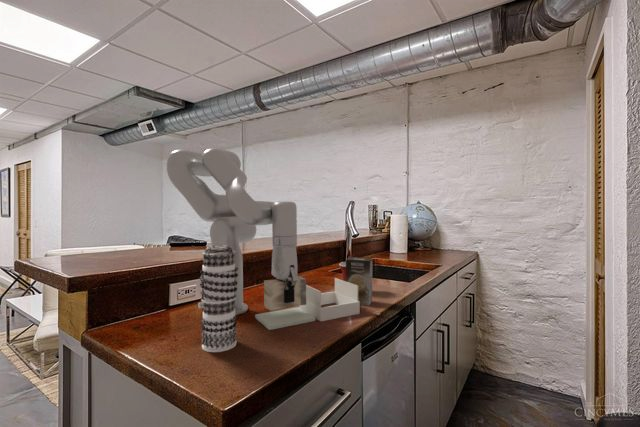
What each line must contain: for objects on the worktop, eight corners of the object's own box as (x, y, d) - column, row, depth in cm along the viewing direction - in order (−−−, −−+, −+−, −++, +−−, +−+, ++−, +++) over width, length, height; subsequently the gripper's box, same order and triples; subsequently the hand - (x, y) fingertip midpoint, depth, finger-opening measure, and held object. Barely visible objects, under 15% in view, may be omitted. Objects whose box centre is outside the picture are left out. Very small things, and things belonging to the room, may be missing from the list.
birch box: (270, 310, 96) (270, 283, 95) (264, 306, 100) (263, 280, 100) (306, 304, 102) (306, 279, 102) (299, 300, 106) (298, 276, 106)
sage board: (269, 330, 92) (269, 326, 92) (255, 317, 102) (255, 314, 102) (315, 320, 100) (315, 317, 100) (297, 310, 110) (297, 307, 110)
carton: (320, 321, 99) (320, 292, 99) (298, 308, 112) (298, 282, 112) (359, 313, 106) (359, 286, 106) (335, 302, 119) (335, 277, 119)
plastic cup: (339, 287, 141) (339, 260, 141) (365, 288, 139) (365, 260, 139) (337, 294, 130) (337, 264, 130) (365, 295, 129) (365, 265, 128)
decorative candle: (240, 349, 79) (240, 247, 79) (200, 355, 76) (199, 249, 76) (236, 335, 88) (236, 243, 88) (200, 340, 85) (199, 245, 84)
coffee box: (344, 303, 118) (344, 259, 117) (348, 298, 124) (348, 256, 123) (369, 305, 115) (369, 260, 114) (372, 301, 121) (373, 257, 120)
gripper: (263, 240, 106) (264, 295, 106) (285, 244, 91) (285, 309, 92) (284, 238, 110) (285, 292, 110) (308, 243, 95) (309, 304, 95)
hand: (285, 299), depth 101 cm, fingers closed on birch box, 5 cm apart
